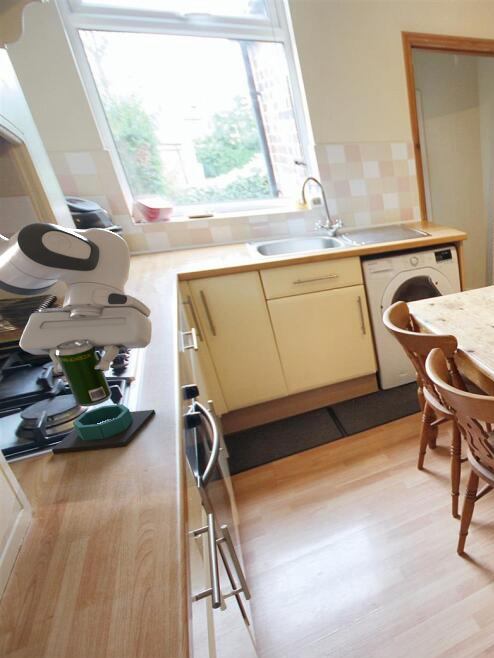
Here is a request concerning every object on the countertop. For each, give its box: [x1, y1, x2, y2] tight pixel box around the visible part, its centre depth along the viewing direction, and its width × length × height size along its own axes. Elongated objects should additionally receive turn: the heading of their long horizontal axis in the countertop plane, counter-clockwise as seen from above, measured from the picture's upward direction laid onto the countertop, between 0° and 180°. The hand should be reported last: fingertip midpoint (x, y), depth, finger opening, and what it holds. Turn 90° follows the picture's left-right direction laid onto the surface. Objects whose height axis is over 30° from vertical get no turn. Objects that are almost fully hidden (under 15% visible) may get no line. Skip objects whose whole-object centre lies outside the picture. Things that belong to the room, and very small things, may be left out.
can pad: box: [51, 403, 156, 455], centre depth 93 cm, size 12×12×4 cm
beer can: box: [55, 339, 112, 408], centre depth 89 cm, size 5×5×12 cm
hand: (81, 371), depth 88 cm, fingers closed on beer can, 5 cm apart
